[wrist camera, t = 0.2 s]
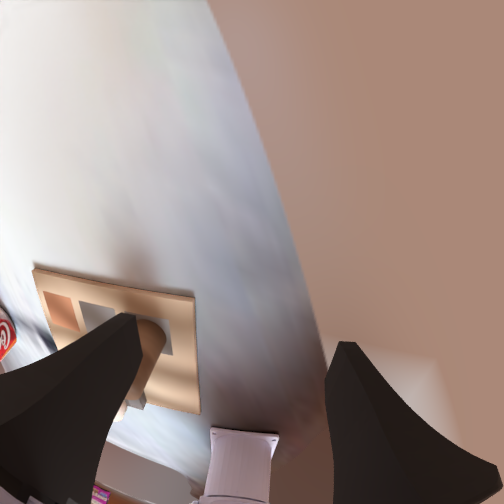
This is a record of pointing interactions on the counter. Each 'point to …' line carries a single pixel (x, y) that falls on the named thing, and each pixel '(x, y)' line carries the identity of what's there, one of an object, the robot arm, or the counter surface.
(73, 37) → the counter surface
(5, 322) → the soda can
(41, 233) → the counter surface
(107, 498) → the candy bar box
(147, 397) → the board
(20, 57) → the counter surface
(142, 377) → the brown cylinder
